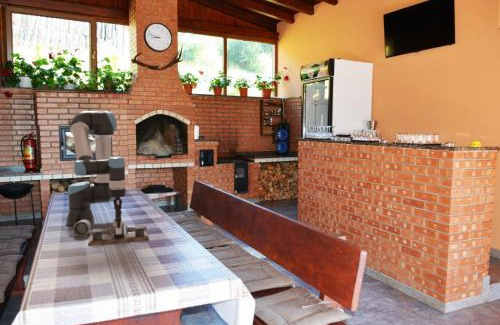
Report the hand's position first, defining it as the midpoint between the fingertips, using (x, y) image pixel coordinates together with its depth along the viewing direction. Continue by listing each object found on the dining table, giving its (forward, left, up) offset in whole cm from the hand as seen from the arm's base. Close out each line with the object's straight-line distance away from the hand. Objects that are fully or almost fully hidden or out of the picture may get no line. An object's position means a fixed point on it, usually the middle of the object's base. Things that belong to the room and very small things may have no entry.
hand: (118, 230), depth 195 cm
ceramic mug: (-24, -2, -5) cm, 25 cm away
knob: (0, 0, -3) cm, 3 cm away
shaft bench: (0, 0, -5) cm, 5 cm away
